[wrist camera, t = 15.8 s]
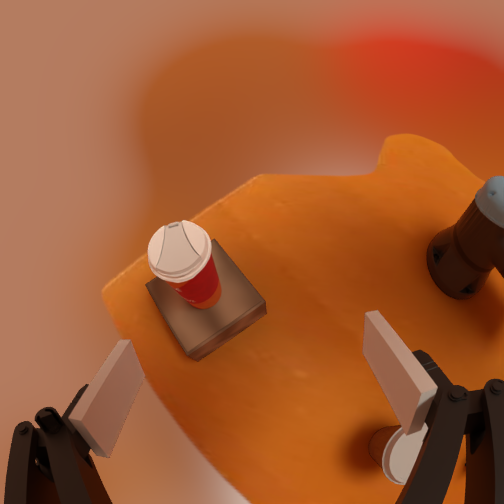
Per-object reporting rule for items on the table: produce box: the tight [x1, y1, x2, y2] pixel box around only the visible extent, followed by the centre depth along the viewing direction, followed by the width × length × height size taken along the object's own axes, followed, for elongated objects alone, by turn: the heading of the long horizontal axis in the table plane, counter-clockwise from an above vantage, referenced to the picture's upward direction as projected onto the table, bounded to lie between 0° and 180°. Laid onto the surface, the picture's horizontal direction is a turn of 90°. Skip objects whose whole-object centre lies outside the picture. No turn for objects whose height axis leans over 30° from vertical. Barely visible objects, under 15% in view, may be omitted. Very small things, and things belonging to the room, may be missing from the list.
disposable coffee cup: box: [369, 423, 428, 485], centre depth 29 cm, size 10×10×12 cm
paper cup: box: [148, 220, 222, 309], centre depth 37 cm, size 8×8×14 cm
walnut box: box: [145, 239, 267, 361], centre depth 46 cm, size 14×14×6 cm
